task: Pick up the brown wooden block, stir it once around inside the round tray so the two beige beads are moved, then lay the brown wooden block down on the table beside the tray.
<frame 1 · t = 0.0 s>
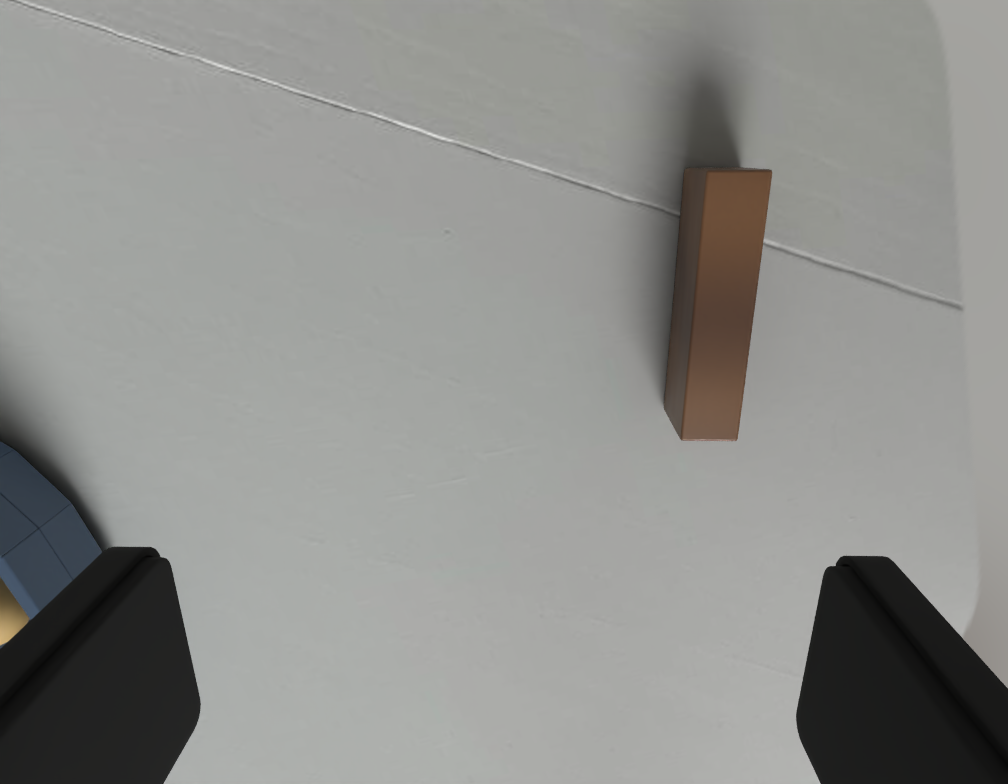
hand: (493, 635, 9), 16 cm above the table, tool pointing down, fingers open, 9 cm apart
brown wooden block: (700, 296, 24), on the table
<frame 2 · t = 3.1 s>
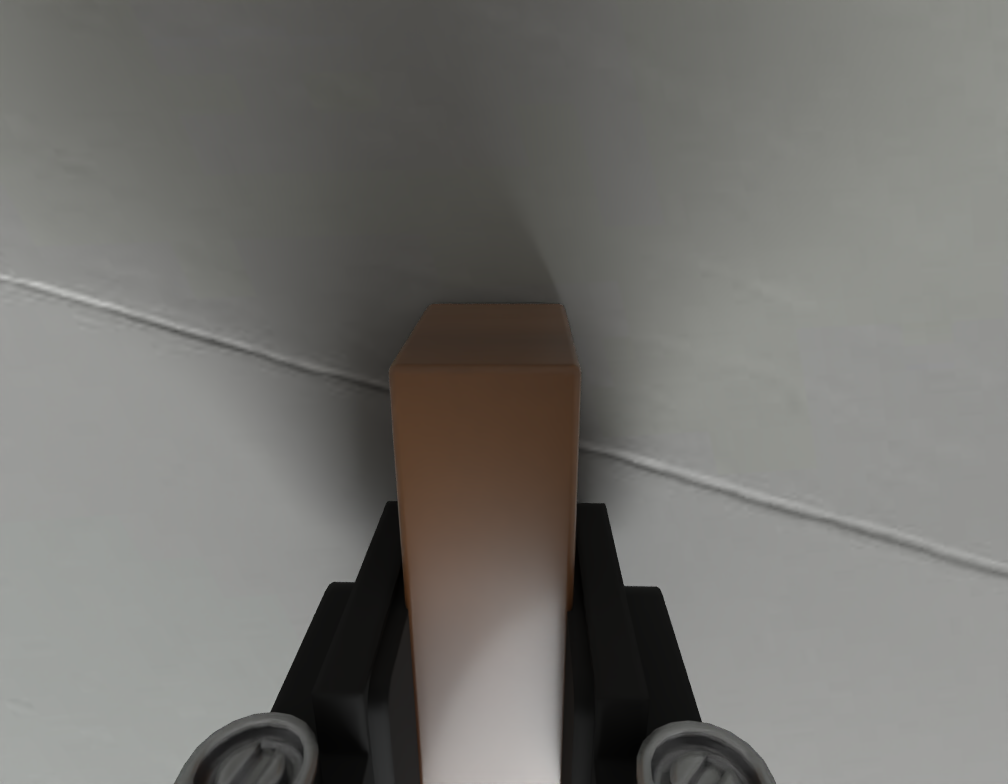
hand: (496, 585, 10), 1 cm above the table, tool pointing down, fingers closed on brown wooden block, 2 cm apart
brown wooden block: (498, 564, 11), on the table, touching gripper
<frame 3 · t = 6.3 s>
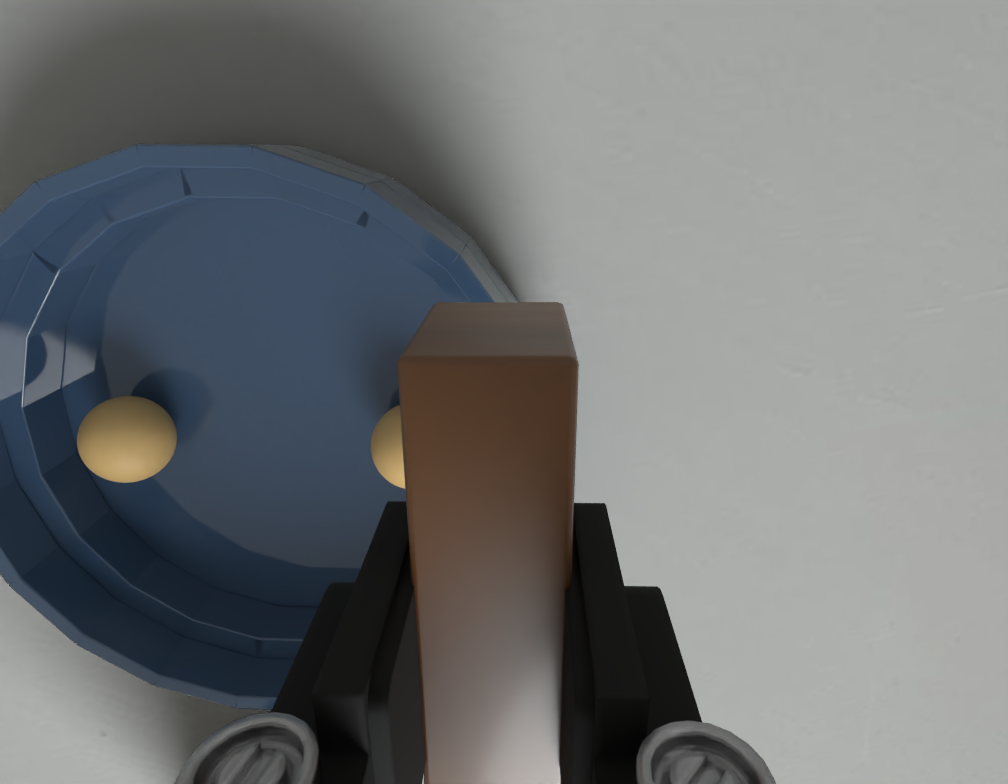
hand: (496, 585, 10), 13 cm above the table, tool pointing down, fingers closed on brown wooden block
bead b: (128, 439, 22), point 2 cm above the table, touching round tray
round tray: (291, 418, 24), on the table
brown wooden block: (500, 555, 11), point 13 cm above the table, touching gripper
bead a: (415, 445, 22), point 2 cm above the table, touching round tray
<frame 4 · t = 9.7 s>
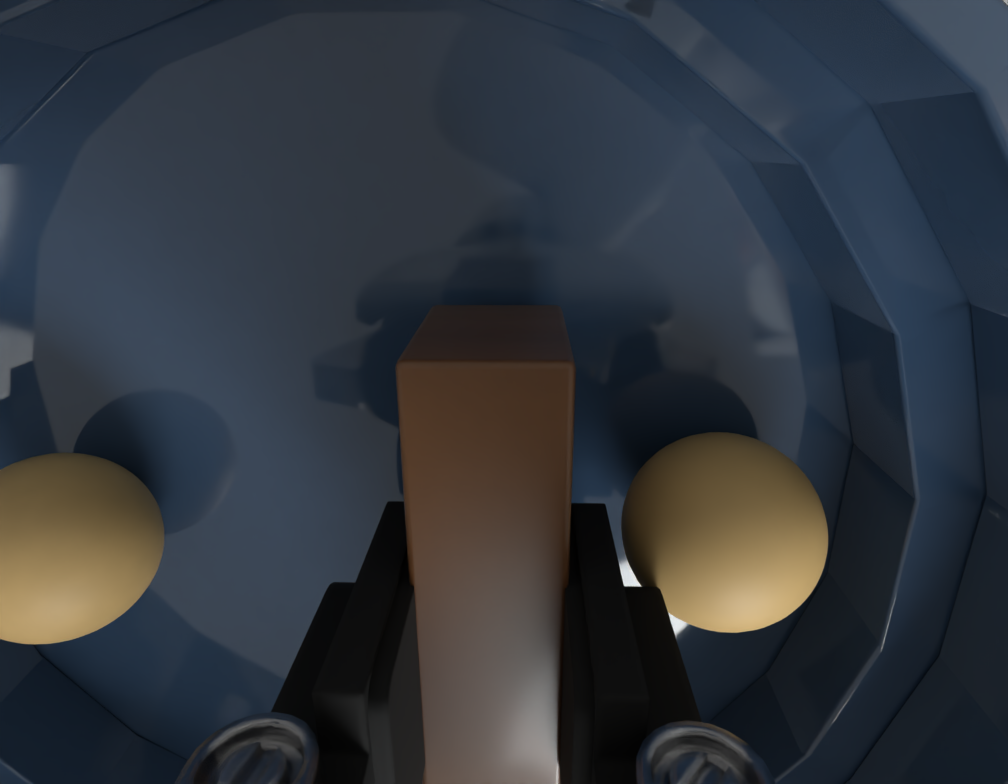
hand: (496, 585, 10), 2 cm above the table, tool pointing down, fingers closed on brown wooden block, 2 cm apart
bead b: (60, 545, 11), point 2 cm above the table, touching round tray
round tray: (391, 485, 12), on the table
brown wooden block: (498, 556, 11), point 1 cm above the table, touching gripper
bead a: (719, 529, 10), point 2 cm above the table, tilted 28°, touching gripper, round tray
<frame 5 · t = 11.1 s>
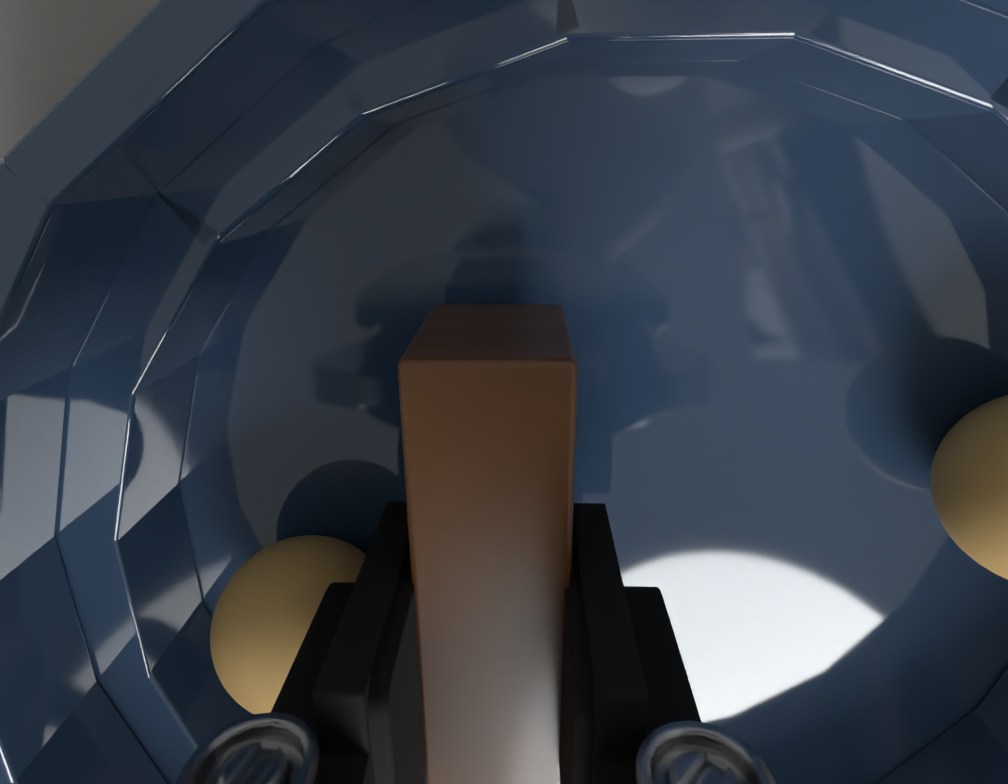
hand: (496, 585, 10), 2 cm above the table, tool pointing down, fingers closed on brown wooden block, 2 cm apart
bead b: (306, 625, 11), point 2 cm above the table, tilted 11°, touching gripper, round tray
round tray: (615, 529, 13), on the table
brown wooden block: (500, 556, 11), point 1 cm above the table, touching gripper
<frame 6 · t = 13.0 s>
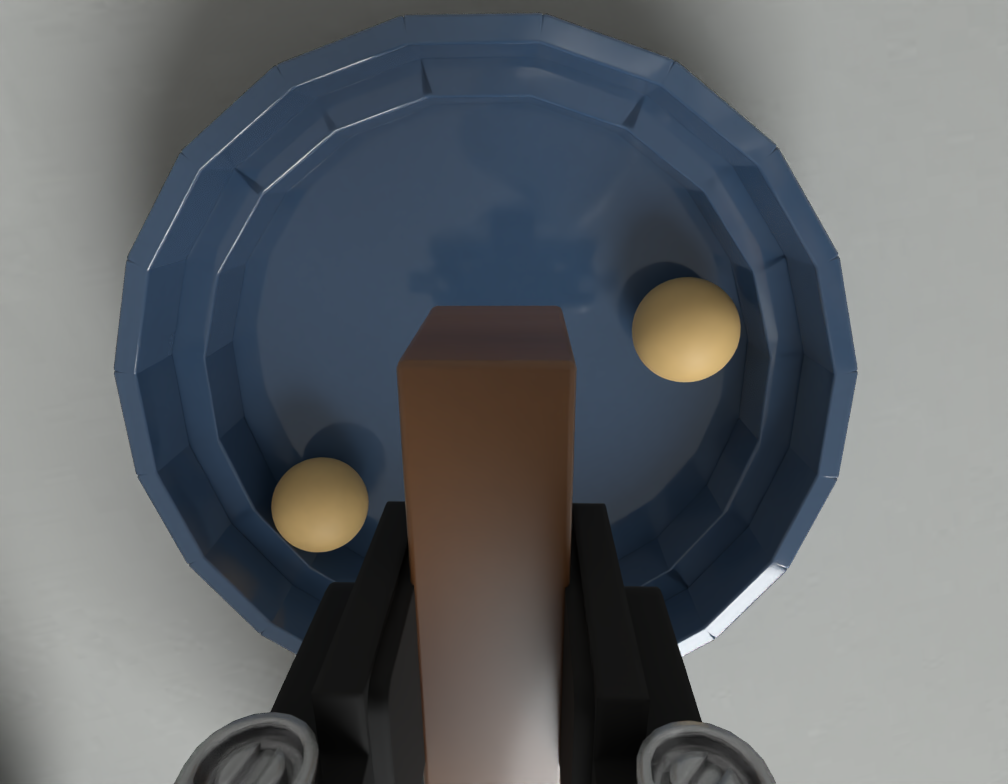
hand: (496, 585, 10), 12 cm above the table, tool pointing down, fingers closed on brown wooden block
bead b: (320, 504, 21), point 2 cm above the table, tilted 112°, touching round tray
round tray: (489, 373, 21), on the table
brown wooden block: (499, 557, 11), point 11 cm above the table, touching gripper
bead a: (685, 330, 19), point 2 cm above the table, tilted 78°, touching round tray
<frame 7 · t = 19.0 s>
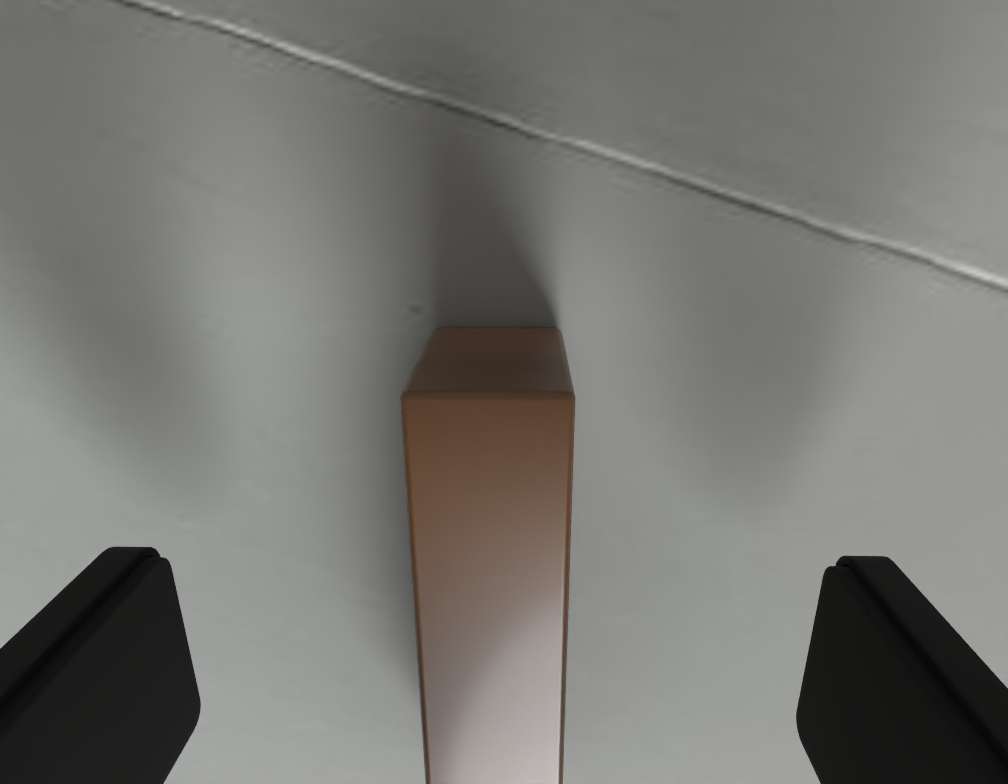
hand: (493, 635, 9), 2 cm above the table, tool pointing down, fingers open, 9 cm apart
brown wooden block: (500, 570, 12), on the table
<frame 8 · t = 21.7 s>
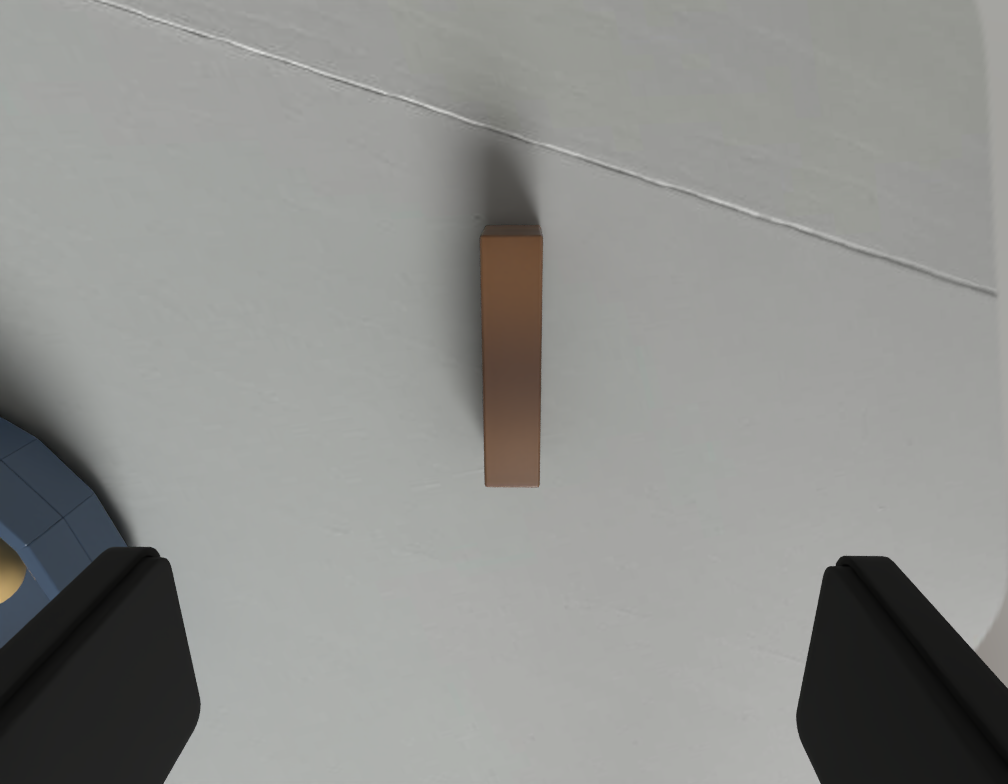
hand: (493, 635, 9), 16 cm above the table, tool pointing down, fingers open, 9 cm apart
brown wooden block: (513, 345, 25), on the table
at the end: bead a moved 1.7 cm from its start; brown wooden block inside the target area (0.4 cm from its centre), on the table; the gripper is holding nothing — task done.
